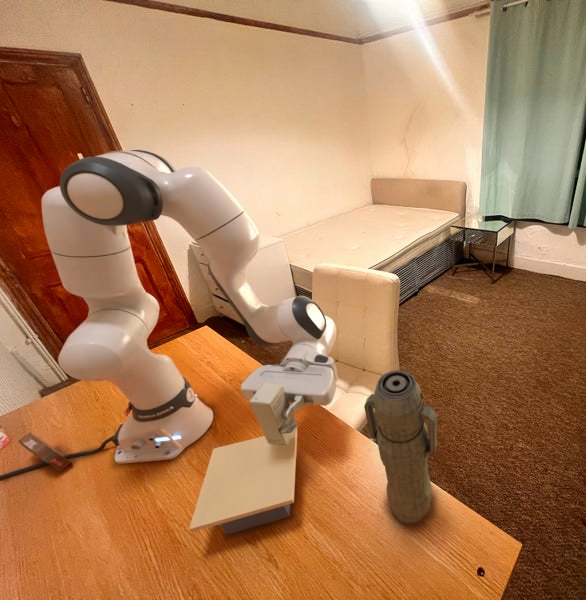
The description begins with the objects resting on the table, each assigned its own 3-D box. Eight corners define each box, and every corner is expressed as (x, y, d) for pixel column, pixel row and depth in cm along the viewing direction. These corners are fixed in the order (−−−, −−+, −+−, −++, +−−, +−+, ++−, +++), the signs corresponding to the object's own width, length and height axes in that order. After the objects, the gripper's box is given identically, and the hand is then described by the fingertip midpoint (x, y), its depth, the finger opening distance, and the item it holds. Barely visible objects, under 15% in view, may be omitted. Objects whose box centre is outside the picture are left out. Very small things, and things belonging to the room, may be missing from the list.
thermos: (437, 530, 60) (433, 411, 41) (378, 519, 62) (349, 402, 44) (440, 483, 67) (438, 364, 49) (388, 475, 69) (367, 359, 51)
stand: (209, 551, 60) (188, 529, 55) (228, 471, 73) (213, 448, 68) (304, 522, 63) (292, 499, 58) (305, 451, 76) (296, 427, 71)
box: (287, 447, 63) (268, 405, 56) (267, 444, 64) (247, 402, 57) (299, 425, 67) (283, 383, 60) (280, 422, 68) (263, 381, 61)
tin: (77, 466, 77) (55, 446, 73) (62, 478, 75) (38, 458, 71) (50, 445, 83) (28, 425, 79) (34, 456, 81) (11, 436, 77)
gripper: (256, 354, 72) (219, 401, 61) (339, 358, 69) (316, 409, 58) (265, 373, 76) (230, 421, 64) (344, 378, 72) (323, 430, 61)
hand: (272, 416), depth 61 cm, fingers closed on box, 4 cm apart
